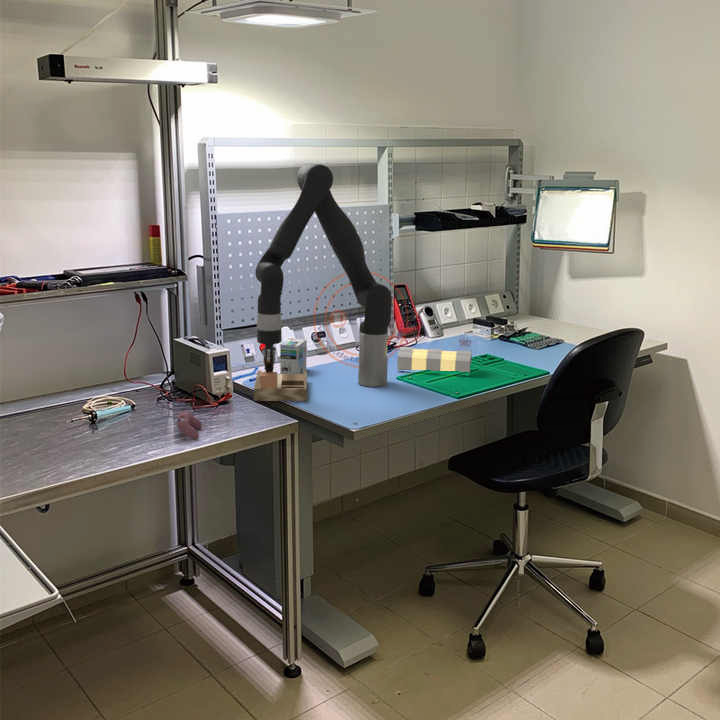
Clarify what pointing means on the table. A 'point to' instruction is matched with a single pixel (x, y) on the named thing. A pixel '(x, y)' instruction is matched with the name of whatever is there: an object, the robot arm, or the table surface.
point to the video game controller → (188, 425)
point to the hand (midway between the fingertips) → (269, 381)
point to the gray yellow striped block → (435, 359)
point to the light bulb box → (293, 356)
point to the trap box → (283, 388)
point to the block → (268, 380)
